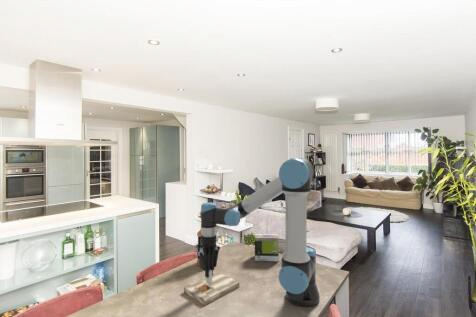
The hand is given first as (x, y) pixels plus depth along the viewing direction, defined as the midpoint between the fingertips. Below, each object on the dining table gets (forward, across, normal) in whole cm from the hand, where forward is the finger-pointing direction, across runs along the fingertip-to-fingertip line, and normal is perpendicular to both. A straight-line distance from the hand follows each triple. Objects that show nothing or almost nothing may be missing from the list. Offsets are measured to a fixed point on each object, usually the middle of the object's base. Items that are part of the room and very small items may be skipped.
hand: (209, 283), depth 126 cm
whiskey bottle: (+4, -20, -26) cm, 33 cm away
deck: (+4, -2, 0) cm, 4 cm away
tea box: (+4, -51, -4) cm, 51 cm away
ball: (+2, +4, 0) cm, 4 cm away
